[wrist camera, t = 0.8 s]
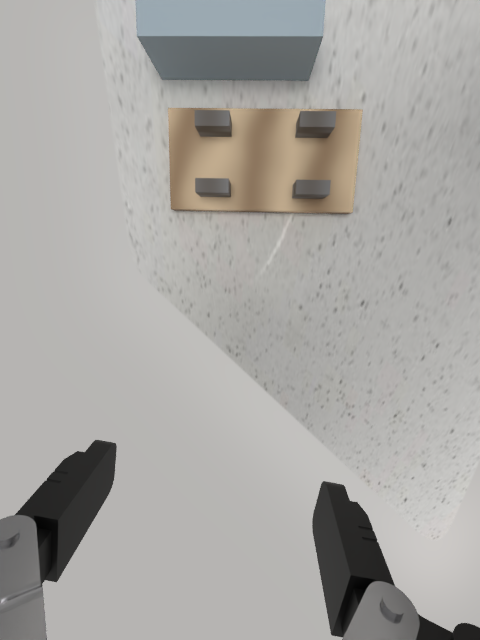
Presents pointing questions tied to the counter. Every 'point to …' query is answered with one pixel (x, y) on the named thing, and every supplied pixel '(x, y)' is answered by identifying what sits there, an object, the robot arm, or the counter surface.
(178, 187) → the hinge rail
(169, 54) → the blue grey rectangular block
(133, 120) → the counter surface
